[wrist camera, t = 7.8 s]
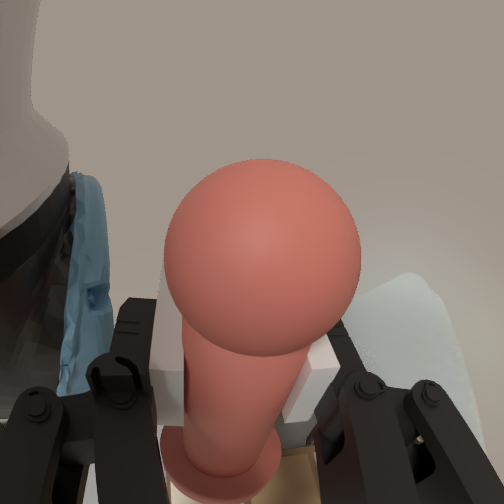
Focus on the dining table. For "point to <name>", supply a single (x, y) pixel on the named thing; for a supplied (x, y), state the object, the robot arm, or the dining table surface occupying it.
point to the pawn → (250, 315)
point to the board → (280, 481)
